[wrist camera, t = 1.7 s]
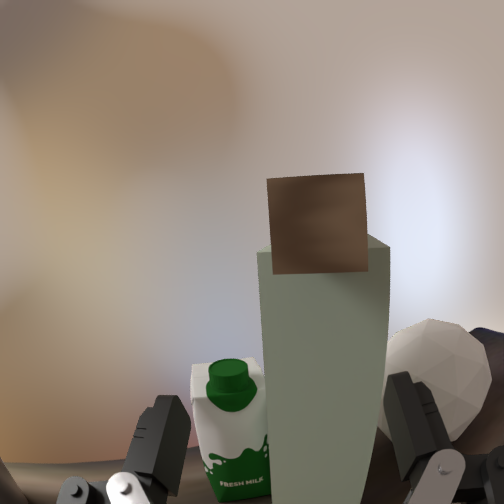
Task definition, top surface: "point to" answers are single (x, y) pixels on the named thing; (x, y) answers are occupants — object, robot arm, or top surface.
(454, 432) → the ball
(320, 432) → the sage stand
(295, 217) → the walnut bar
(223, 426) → the milk carton
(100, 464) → the top surface
